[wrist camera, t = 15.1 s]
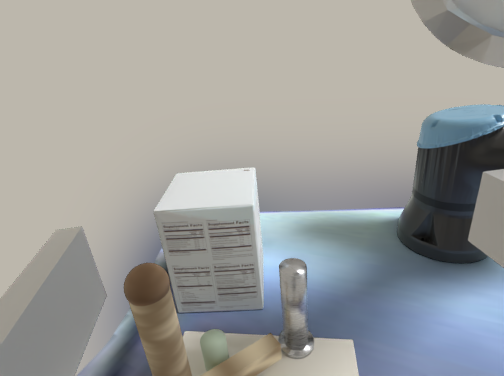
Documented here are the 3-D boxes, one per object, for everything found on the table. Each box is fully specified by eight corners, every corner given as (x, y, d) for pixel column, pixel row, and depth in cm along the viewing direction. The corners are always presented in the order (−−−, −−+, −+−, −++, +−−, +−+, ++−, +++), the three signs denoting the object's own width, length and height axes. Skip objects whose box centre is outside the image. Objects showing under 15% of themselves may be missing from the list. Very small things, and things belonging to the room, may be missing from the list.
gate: (268, 345, 41) (255, 210, 33) (286, 366, 38) (276, 225, 30) (162, 412, 35) (114, 265, 27) (174, 443, 32) (124, 290, 24)
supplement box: (193, 259, 60) (175, 171, 53) (264, 255, 59) (256, 166, 52) (176, 314, 48) (150, 211, 41) (265, 310, 47) (254, 204, 40)
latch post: (208, 351, 41) (203, 328, 39) (231, 352, 40) (228, 329, 39) (202, 373, 38) (196, 350, 37) (227, 375, 38) (222, 351, 36)
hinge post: (279, 328, 43) (274, 254, 38) (313, 330, 42) (312, 254, 37) (277, 358, 39) (271, 279, 34) (314, 360, 39) (313, 280, 34)
